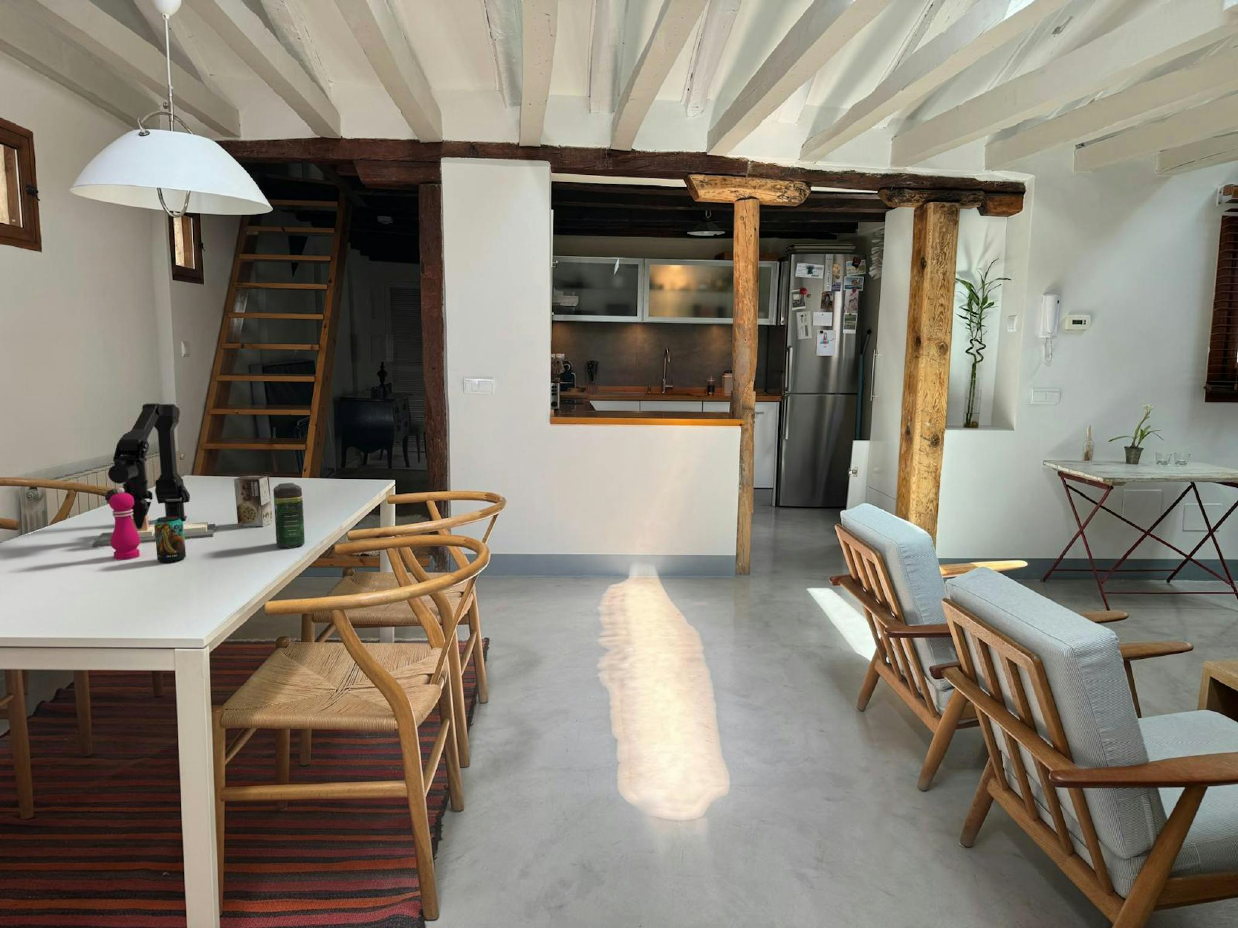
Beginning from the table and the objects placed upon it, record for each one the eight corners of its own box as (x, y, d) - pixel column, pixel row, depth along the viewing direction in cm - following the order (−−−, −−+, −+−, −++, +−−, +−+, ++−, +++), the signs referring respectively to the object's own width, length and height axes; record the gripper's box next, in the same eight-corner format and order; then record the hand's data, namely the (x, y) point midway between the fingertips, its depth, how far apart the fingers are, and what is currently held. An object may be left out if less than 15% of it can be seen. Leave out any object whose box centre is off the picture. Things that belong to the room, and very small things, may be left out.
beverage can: (157, 564, 220) (153, 521, 218) (158, 558, 226) (154, 517, 224) (186, 561, 223) (182, 519, 221) (186, 555, 229) (182, 514, 227)
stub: (133, 532, 253) (132, 515, 252) (155, 530, 256) (153, 513, 255) (129, 538, 246) (128, 520, 245) (152, 536, 248) (150, 518, 248)
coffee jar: (306, 546, 239) (303, 485, 236) (278, 549, 235) (273, 487, 233) (303, 539, 247) (299, 480, 245) (275, 542, 244) (271, 482, 241)
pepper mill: (147, 554, 230) (141, 486, 227) (125, 561, 223) (118, 490, 220) (128, 552, 232) (122, 484, 229) (105, 559, 226) (98, 489, 223)
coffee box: (273, 522, 271) (270, 475, 268) (263, 527, 265) (259, 478, 262) (247, 522, 272) (244, 475, 269) (236, 526, 265) (233, 478, 263)
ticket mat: (102, 535, 253) (101, 527, 253) (215, 526, 266) (215, 518, 266) (92, 547, 239) (91, 538, 238) (212, 536, 252) (212, 528, 251)
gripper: (110, 475, 253) (114, 523, 255) (99, 484, 236) (105, 536, 239) (150, 472, 258) (155, 520, 260) (143, 481, 241) (148, 532, 243)
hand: (140, 527), depth 250 cm, fingers closed on stub, 4 cm apart
